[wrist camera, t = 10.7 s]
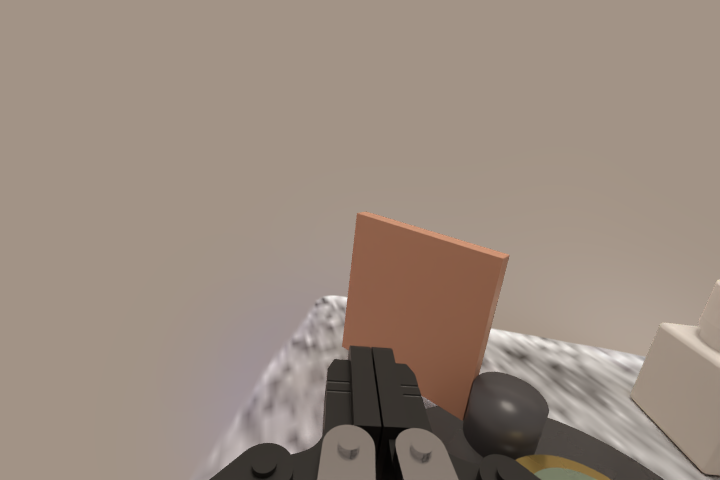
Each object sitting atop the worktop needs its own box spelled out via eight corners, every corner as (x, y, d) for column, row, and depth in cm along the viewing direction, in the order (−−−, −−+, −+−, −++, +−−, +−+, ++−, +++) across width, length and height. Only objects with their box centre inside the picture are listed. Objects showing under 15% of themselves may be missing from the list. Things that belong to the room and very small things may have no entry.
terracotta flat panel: (542, 437, 21) (599, 273, 18) (522, 483, 18) (585, 295, 15) (362, 335, 30) (379, 209, 26) (328, 355, 27) (342, 215, 23)
